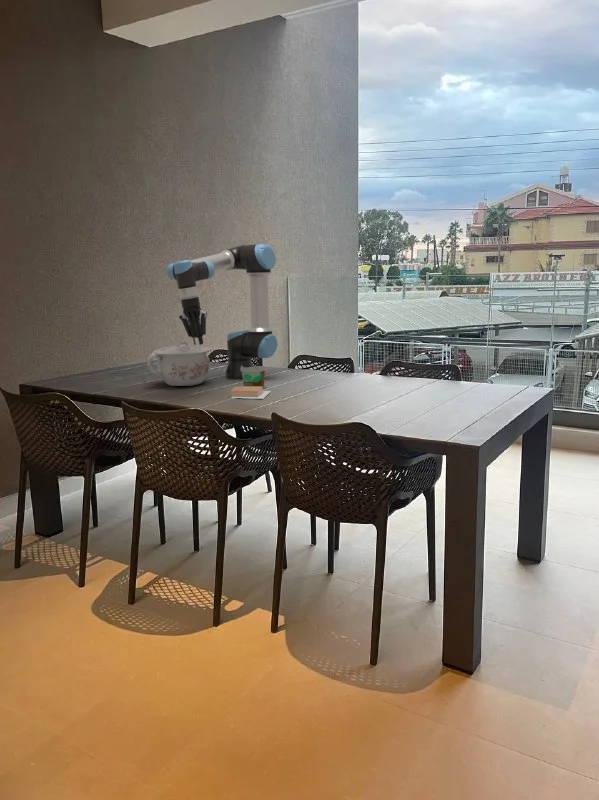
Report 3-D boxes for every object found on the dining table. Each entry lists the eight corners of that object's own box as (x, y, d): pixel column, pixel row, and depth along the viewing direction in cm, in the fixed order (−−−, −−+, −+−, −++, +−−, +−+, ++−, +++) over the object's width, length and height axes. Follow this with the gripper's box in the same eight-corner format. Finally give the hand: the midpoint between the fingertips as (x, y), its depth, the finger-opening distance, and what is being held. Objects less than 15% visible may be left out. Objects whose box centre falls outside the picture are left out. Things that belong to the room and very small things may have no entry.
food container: (236, 389, 293) (235, 367, 291) (242, 386, 299) (241, 365, 297) (261, 390, 289) (260, 368, 287) (266, 387, 295) (265, 366, 293)
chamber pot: (219, 379, 320) (217, 337, 315) (206, 389, 293) (203, 344, 289) (164, 379, 322) (161, 338, 318) (146, 390, 296) (143, 345, 291)
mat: (240, 391, 286) (240, 390, 286) (271, 392, 284) (271, 390, 283) (230, 399, 270) (230, 398, 270) (263, 399, 268) (263, 398, 268)
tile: (236, 386, 283) (262, 386, 280) (236, 391, 283) (263, 392, 281) (230, 390, 273) (257, 390, 271) (230, 396, 273) (257, 396, 271)
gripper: (171, 300, 270) (183, 355, 276) (197, 297, 265) (209, 352, 271) (181, 297, 277) (192, 351, 283) (207, 294, 272) (217, 348, 278)
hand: (200, 351), depth 277 cm, fingers closed
